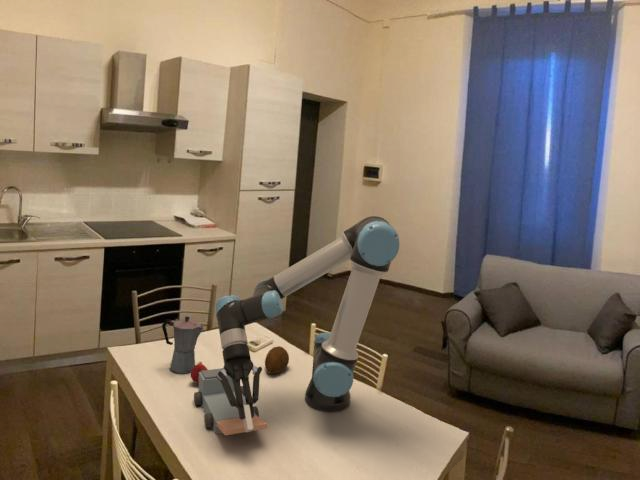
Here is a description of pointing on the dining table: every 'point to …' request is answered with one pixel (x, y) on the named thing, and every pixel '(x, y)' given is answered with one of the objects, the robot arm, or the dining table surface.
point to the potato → (276, 360)
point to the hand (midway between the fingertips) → (249, 430)
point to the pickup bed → (216, 399)
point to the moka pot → (183, 343)
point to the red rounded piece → (197, 371)
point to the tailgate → (239, 425)
